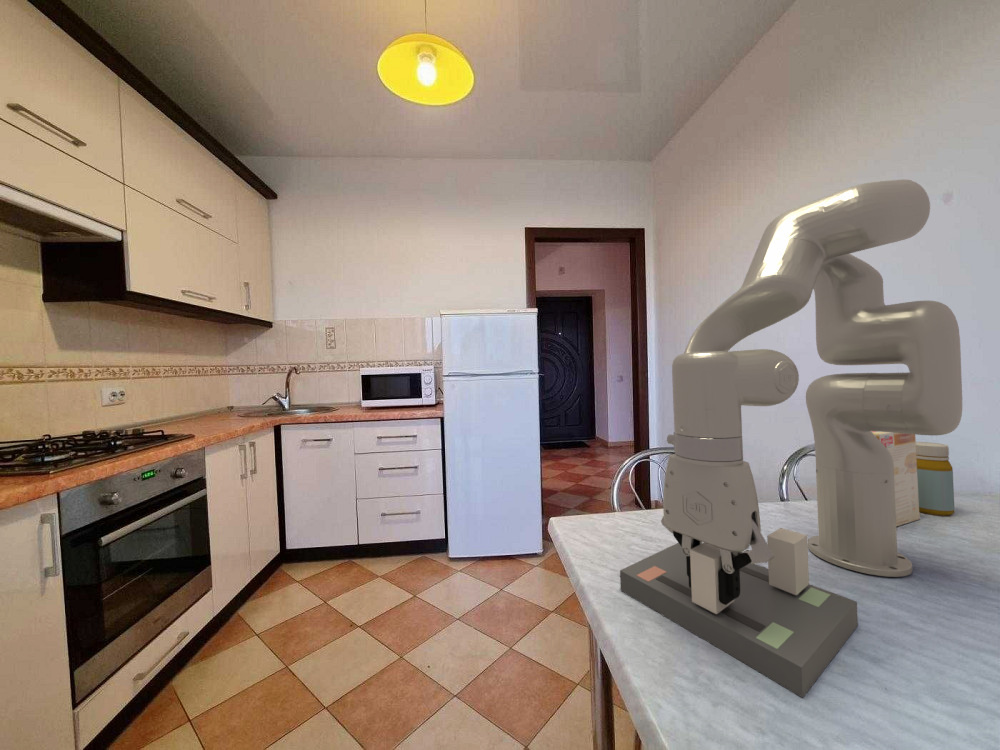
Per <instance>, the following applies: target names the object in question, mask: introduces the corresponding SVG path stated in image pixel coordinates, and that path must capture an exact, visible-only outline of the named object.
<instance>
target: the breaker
mask: <svg viewBox="0 0 1000 750" xmlns="http://www.w3.org/2000/svg"><path fill="white" fill-rule="evenodd" d="M766 536H767V538H766V539H767V540H766V543H767V545H768V546H769V548H770V550H771V552H772V554H773V559H771V560H770V561H768V562H767V564H768V568H767V569H769V585H772V586H774V587H777V588H779V589H782V590H784V591H787V592H789V593H792V594H794V595H797V594H799V593H800V592H801V591H802V590H803V589H804V588H805V587H806V586H808V585H809V584H810V572H809V571H810V570H809V548H808V534H804V533H801V532H797V531H793V530H790V529H786V528H782V527H780V528H778V529H776V530H775V531H774V532H772V533H770V534H768V535H766Z"/></svg>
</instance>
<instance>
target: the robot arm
mask: <svg viewBox="0 0 1000 750" xmlns="http://www.w3.org/2000/svg"><path fill="white" fill-rule="evenodd" d="M930 212H931V202H930V198H929V195H928V193H927V192H926V190H925V188H924V187H923V186H922V185H921V184H919V183H918V182H916V181H913V180H910V179H893V180H880V181H872V182H871V181H870V182H867V183H862V184H861V183H860V184H857V185H854V186H850V187H847V188H844V189H842V190H839V191H837V192H834V193H830V194H828V195H826V196H824V197H821V198H817V199H816V200H813V201H810V202H808V203H804V204H802V205H800V206H797V207H794V208H793V209H789V210H787V211H786V212H784V213H781V214H780V215H778V216H776V217H775V218H774V219H773V220H772V221H770V223H769V224H768V225H767V226H766V228H765V230H764V231H763V234H762V236H761V238H760V241H759V243H758V245H757V248H756V250H755V252H754V255H753V258H752V261H751V263H750V265H749V267H748V270H747V273H746V275H745V277H744V280H743V283H742V285H741V287H740V288H739V289H738V290H736V292H735V293H733V294H731V296H729V297H728V298H727V299H725V300H724V301H723V302H722V303H721V304H720V305H719V306H718V307H717V308H716V309H714V310H713V311H712V312H711V313H710V314H709V315H708V316H706V318H704V319H703V321H701V322H700V324H699V325H698V326H697V327H696V329H695V330H694V331H693V333H692V335H691V336H690V338H689V341H688V342H687V345H686V347H685V349H684V352H683V353H681V354H678V355H676V356H675V357H674V359H673V361H672V364H671V373H672V374H671V377H672V381H671V382H672V404H673V405H672V407H673V426H674V427H673V428H674V430H673V434H668V435H667V437H666V442H667V444H668V445H672V446H673V450H674V453H672V454H669V456H668V459H667V463H666V464H667V465H666V469H665V475H664V485H663V503H662V505H663V516H662V518H661V520H660V523H661V525H662V526H663V527H664V528H665V529H667V530H668V531H669V533H671V534H672V535H673V537H674V539H675V540H676V541H677V543H679V544H680V545H681V547H682V553H683V554H684V555H685V556H686V562H687V576H688V577H689V587H690V588H691V563H690V549H692V548H694V547H696V546H698V545H700V544H702V543H707V544H710V545H712V546H715V547H718V548H720V553H721V560H722V569H720V570H719V571H718V583H719V601H720V602H721V603H722V604H724V605H727V604H728V603H730V602H731V601H732V600H734V599H735V598H737V597H739V595H740V569H741V568H742V567H744V566H746V565H748V564H756V565H758V564H765V563H768V561H770V560H771V559H773V554H772V552H771V550H770V548H769V546H768V543H767V540H766V539H765V538H764V536H763V534H762V532H761V531H762V529H761V526H762V525H761V517H760V516H761V514H760V507H759V500H758V494H757V489H756V488H757V487H756V484H755V480H754V477H753V473H752V469H751V466H750V463H749V462H748V461H744V449H743V448H744V447H743V444H744V443H743V426H742V425H743V422H742V420H743V419H742V406H744V407H745V406H746V407H771V406H776V405H780V404H782V403H783V402H785V401H787V400H788V399H790V398H791V397H792V396H793V395H794V393H795V392H796V390H797V388H798V385H799V381H800V379H799V378H800V377H799V376H800V375H799V370H798V368H797V365H796V364H795V362H794V361H793V360H792V359H791V358H790V357H789V356H788V355H786V354H785V353H783V352H780V351H778V350H773V349H766V348H764V349H763V348H762V349H761V348H760V349H758V348H757V349H746V350H733V351H730V349H732V348H733V347H734V346H735V345H736V344H738V343H739V342H741V341H742V340H744V339H745V338H747V337H749V336H750V335H751V336H752V335H753V334H754V333H755V334H756V333H757V332H760V331H761V330H764V329H766V328H768V327H770V326H774V325H775V324H777V323H779V322H781V321H783V320H785V319H787V318H789V317H791V316H793V315H794V314H796V313H798V312H800V311H801V310H802V309H804V307H806V305H807V304H809V301H810V299H811V297H812V294H813V292H814V301H815V303H814V304H815V341H816V343H815V344H816V349H817V355H818V356H819V358H820V359H821V360H822V361H823V362H824V363H827V364H829V365H834V366H872V365H879V366H880V365H906V366H907V369H908V371H909V372H850V373H849V372H847V373H844V372H843V373H834V374H829V375H824V376H821V377H818V378H816V379H815V380H813V381H812V382H811V383H810V384H809V385H808V387H807V388H806V392H805V404H806V408H807V412H808V415H809V419H810V423H811V427H812V433H813V440H814V453H815V454H814V455H815V474H816V475H815V476H816V477H815V479H816V501H817V504H816V505H817V521H818V525H817V528H818V535H815V536H812V537H809V538H807V543H808V550H809V551H810V552H811V553H812V554H814V555H815V556H817V557H818V558H819V559H821V560H823V561H825V562H827V563H830V564H832V565H835V566H837V567H841V568H844V569H846V570H850V571H853V572H856V573H857V572H858V573H862V574H867V575H871V576H878V577H888V578H898V577H900V578H901V577H907V576H909V575H911V574H912V573H913V562H911V561H910V559H909V558H907V557H906V556H905V555H903V554H901V553H900V552H898V540H897V539H898V538H897V527H896V511H895V488H894V464H893V459H892V456H891V454H890V452H889V451H888V450H887V448H886V447H885V446H884V445H883V443H882V442H881V441H880V440H879V439H878V438H877V437H876V436H875V435H874V434H873V433H872V432H871V431H875V432H878V431H880V432H892V433H903V434H915V436H916V435H917V436H943V435H947V434H951V433H952V432H955V430H956V429H957V428H958V427H959V425H960V423H961V420H962V416H963V384H962V383H963V381H962V380H963V379H962V357H961V356H962V355H961V337H960V329H959V324H958V321H957V318H956V316H955V313H954V312H953V311H952V309H951V308H950V307H949V306H947V305H946V304H945V303H943V302H939V301H936V300H935V301H934V300H916V301H915V300H913V301H907V302H906V301H905V302H899V303H894V304H893V303H891V304H887V305H886V304H885V299H884V298H885V294H884V278H883V276H882V274H881V273H880V272H879V271H878V270H877V269H876V268H875V267H874V266H872V265H870V264H869V263H868V262H866V261H864V260H862V259H860V258H858V257H857V256H855V255H853V253H858V252H861V251H865V250H869V249H872V248H878V247H880V246H884V245H888V244H893V243H897V242H902V241H906V240H907V239H908V240H909V239H910V238H912V237H914V236H916V235H917V234H918V233H919V232H921V230H922V229H924V227H925V225H926V224H927V222H928V219H929V218H930ZM749 547H751V549H750V550H749Z"/></svg>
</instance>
